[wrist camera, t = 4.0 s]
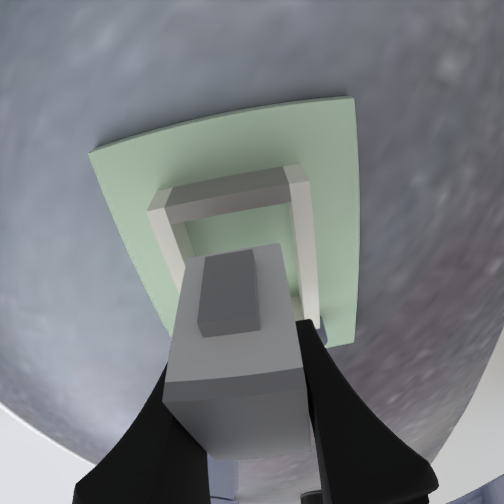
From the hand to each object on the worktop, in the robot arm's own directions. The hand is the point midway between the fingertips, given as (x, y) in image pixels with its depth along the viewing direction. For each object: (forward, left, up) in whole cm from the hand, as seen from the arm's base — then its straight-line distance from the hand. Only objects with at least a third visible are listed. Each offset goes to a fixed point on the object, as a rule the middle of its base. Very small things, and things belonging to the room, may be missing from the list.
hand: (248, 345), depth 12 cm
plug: (0, 0, -2) cm, 2 cm away
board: (-1, 0, -7) cm, 7 cm away
